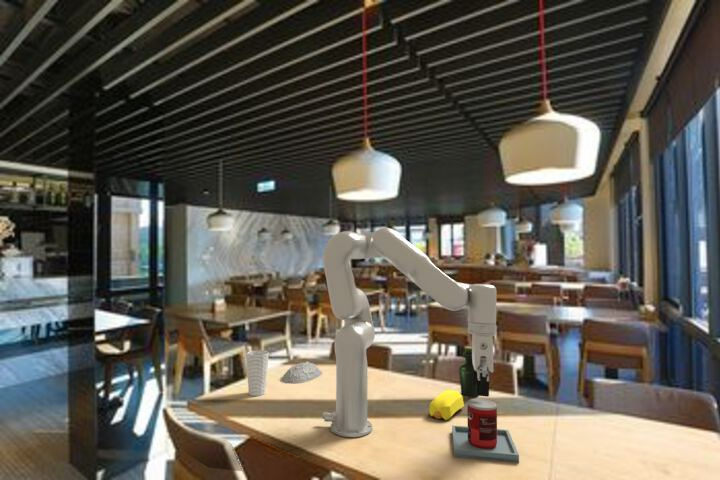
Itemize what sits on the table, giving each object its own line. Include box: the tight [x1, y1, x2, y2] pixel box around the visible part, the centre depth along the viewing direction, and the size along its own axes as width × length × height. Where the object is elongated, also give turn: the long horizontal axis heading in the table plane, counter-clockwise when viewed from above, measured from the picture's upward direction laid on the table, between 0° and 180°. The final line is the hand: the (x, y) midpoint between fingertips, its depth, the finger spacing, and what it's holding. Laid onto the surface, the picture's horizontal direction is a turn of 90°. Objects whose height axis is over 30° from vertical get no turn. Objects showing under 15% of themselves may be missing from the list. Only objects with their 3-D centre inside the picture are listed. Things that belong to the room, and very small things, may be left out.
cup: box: [245, 349, 270, 397], centre depth 158 cm, size 8×8×16 cm
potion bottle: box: [458, 345, 478, 398], centre depth 159 cm, size 8×8×18 cm
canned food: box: [466, 397, 498, 449], centre depth 114 cm, size 8×8×11 cm
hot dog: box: [428, 389, 465, 421], centre depth 140 cm, size 18×7×8 cm
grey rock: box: [280, 361, 323, 385], centre depth 182 cm, size 16×25×7 cm, turn 160°
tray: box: [451, 425, 520, 464], centre depth 114 cm, size 16×16×2 cm
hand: (480, 390), depth 115 cm, fingers open, 9 cm apart
